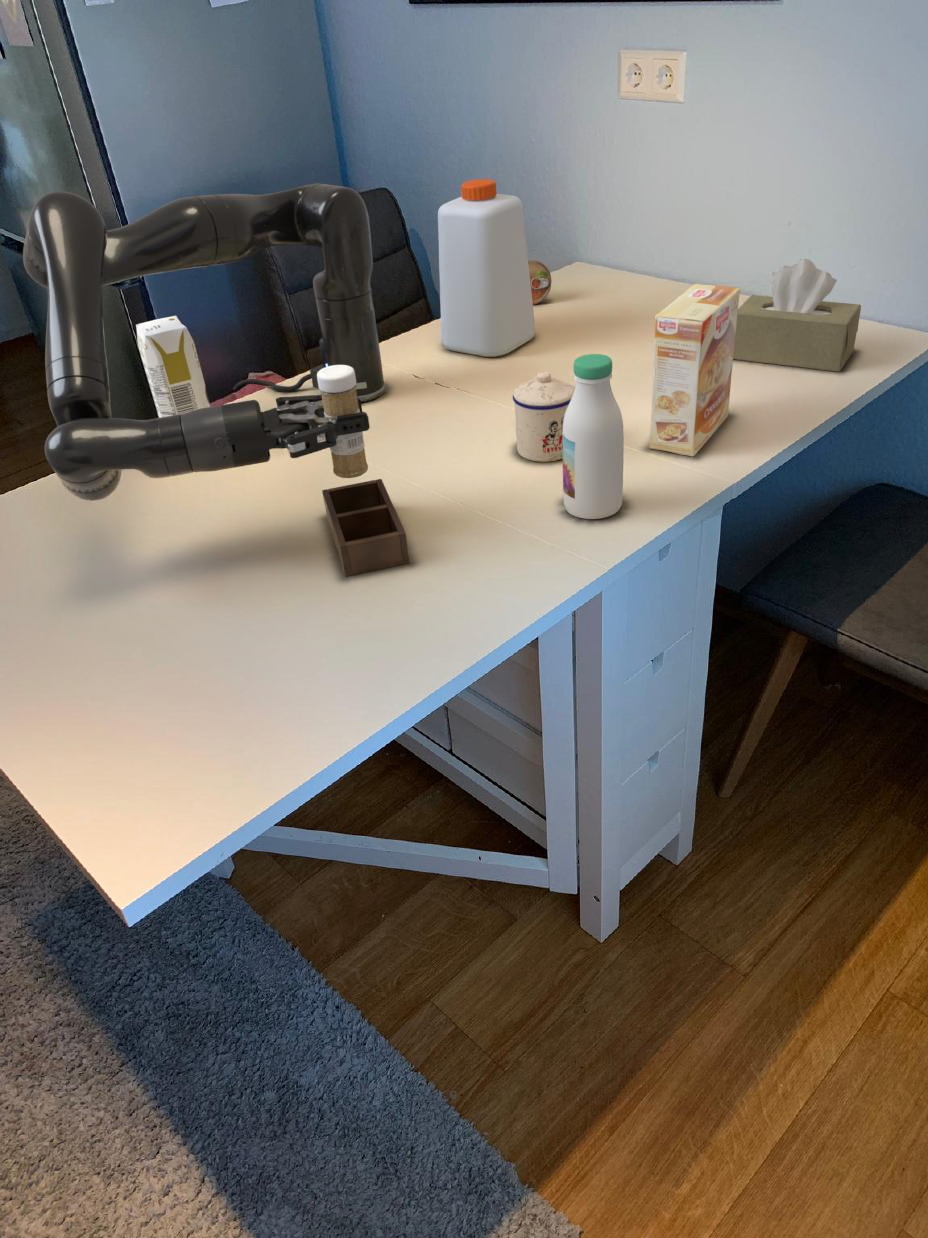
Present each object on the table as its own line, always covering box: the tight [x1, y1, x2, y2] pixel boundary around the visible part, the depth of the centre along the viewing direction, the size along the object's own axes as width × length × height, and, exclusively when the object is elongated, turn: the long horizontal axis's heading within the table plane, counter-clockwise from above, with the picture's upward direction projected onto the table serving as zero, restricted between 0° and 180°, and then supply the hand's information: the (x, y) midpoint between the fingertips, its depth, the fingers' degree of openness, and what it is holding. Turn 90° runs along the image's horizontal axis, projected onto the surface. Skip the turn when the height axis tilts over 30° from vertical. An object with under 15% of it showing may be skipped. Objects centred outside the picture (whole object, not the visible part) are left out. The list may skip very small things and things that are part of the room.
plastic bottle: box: [437, 178, 536, 358], centre depth 168 cm, size 15×15×28 cm
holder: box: [321, 478, 411, 577], centre depth 120 cm, size 8×15×4 cm, turn 15°
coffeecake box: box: [649, 283, 741, 457], centre depth 133 cm, size 15×7×20 cm, turn 148°
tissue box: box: [733, 258, 862, 373], centre depth 154 cm, size 19×10×16 cm, turn 59°
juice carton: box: [135, 315, 212, 418], centre depth 144 cm, size 8×9×19 cm
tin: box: [528, 260, 552, 305], centre depth 191 cm, size 15×3×8 cm, turn 81°
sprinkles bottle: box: [317, 365, 369, 479], centre depth 115 cm, size 5×5×13 cm
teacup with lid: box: [512, 371, 575, 463], centre depth 135 cm, size 12×9×12 cm
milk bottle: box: [562, 353, 625, 520], centre depth 117 cm, size 8×8×20 cm
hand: (364, 413), depth 115 cm, fingers closed on sprinkles bottle, 4 cm apart
